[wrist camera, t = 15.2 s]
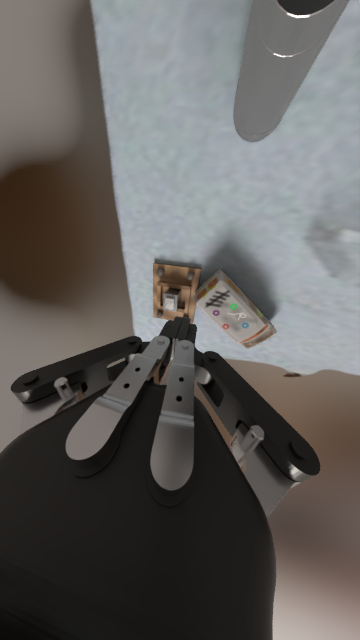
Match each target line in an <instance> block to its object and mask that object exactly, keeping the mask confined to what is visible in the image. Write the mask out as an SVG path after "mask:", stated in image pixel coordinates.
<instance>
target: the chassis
mask: <svg viewBox="0 0 360 640" xmlns="http://www.w3.org/2000/svg"><path fill="white" fill-rule="evenodd" d="M200 272H201V269H199V268H191V267H183V266H175V265H167V264H159V263H153V303H154V317H155V318H161V319H167V320H173V321H174V319H175V317H176V316H178V317H183V318H190V319H191V322H190V324H192V323H193V317H194V310H195V304H196V302H195V300H194V296H195V295H194V293H195V292H196V291H197V290H198V285H199V278H200ZM168 288H176V289H182V291H181V301H180V306H179V308H178V310H177V312H174V311H168V310H163V294H164V292H165V291H166V290H167V289H168Z"/></svg>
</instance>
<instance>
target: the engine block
mask: <svg viewBox="0 0 360 640" xmlns="http://www.w3.org/2000/svg"><path fill="white" fill-rule="evenodd" d="M181 291H182V289H176V288H168V289H167V290H166V291H165V292H164V294H163V310H168V311H174V312H177V310H178V308H179V306H180V301H181Z"/></svg>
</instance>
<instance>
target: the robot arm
mask: <svg viewBox="0 0 360 640" xmlns="http://www.w3.org/2000/svg"><path fill="white" fill-rule="evenodd" d="M348 2H349V0H253V3H252V9H251V14H250V20H249V26H248V31H247V37H246V42H245V48H244V54H243V59H242V65H241V71H240V76H239V81H238V87H237V93H236V99H235V105H234V124H235V127H236V130H237V132H238V134H239V135H240V136H241V137H242V138H243V139H244V140H246V141H250V142H255V141H259V140H261V139H263V138H265V137H266V136H268V135H269V134H270V133H271V132H272V131H273V130H274V129H275V128H276V126H277V125H278V124H279V122H280V120H281V119H282V117H283V115H284V114H285V112H286V110H287V108H288V107H289V105H290V103H291V102H292V100H293V98H294V96H295V95H296V93H297V91H298V89H299V88H300V86H301V84H302V82H303V81H304V79H305V77H306V75H307V74H308V72H309V70H310V68H311V67H312V65H313V63H314V61H315V60H316V58H317V56H318V54H319V53H320V51H321V49H322V48H323V46H324V44H325V42H326V41H327V39H328V37H329V35H330V34H331V32H332V30H333V28H334V27H335V25H336V23H337V21H338V20H339V18H340V16H341V14H342V13H343V11H344V9H345V7H346V6H347V4H348ZM190 322H191V319H190V318H183V317H178V316H176V317H175V319H174V321H172V320H169V321H168V322H166V324H165V326H164V327H163V329H162V331H161V333H160V334H159V336H156V337H154V338H153V339H152V341H150V342H142V340H141V338H139V337H137V336H131V337H127V338H124V339H122V340H119V341H116V342H113V343H110V344H107V345H105V346H102V347H99V348H96V349H93V350H90V351H87V352H85V353H82V354H79V355H76V356H74V357H70V358H67V359H65V360H62V361H59V362H56V363H53V364H50V365H48V366H45V367H42V368H39V369H36V370H33V371H31V372H28V373H26V374H24V375H22V376H21V377H19V378H18V379H17V380H16V381H15V382H14V383H13V384H12V386H11V391H12V392H13V393H14V394H15V395H16V397H17V398H18V400H19V402H20V403H21V404H22V405H23V407H22V420H21V434H20V435H19V436H18V437H17V438H16V439H14V440H13V441H12V442H11V443H10V444H9V445H8V446H7V447H6V448H5V449H4V450H3V451H2V452H1V453H0V640H272V620H273V602H274V593H275V585H276V557H275V548H274V543H273V538H272V534H271V529H270V526H269V523H268V520H267V517H268V516H269V515H270V514H271V512H272V511H273V510H274V508H275V507H276V506H277V504H278V503H279V502H280V501H281V499H282V498H283V497H284V495H285V494H286V493H287V491H288V490H289V489H291V488H292V487H294V486H296V485H298V484H300V483H302V482H304V481H305V480H307V479H309V478H311V477H313V476H315V475H317V474H318V473H319V471H320V463H319V459H318V457H317V455H316V453H315V451H314V450H313V448H312V447H311V446H310V445H309V443H307V441H306V440H305V439H304V438H303V437H302V436H301V435H300V434H298V432H297V431H296V430H295V429H294V428H292V426H291V425H289V423H287V421H285V419H284V418H283V417H282V416H281V415H280V414H279V413H277V412H276V411H275V410H274V409H273V408H272V407H271V406H270V405H269V404H268V403H267V402H266V401H265V400H264V399H263V398H262V397H261V396H260V395H259V394H258V393H257V392H256V391H255V390H254V389H253V388H252V387H251V386H250V385H249V384H248V383H247V382H246V381H245V380H244V379H243V378H242V377H241V376H240V375H239V374H238V373H237V372H236V371H235V370H234V369H233V368H232V367H231V366H230V365H229V364H228V363H227V362H226V361H225V360H224V359H223V358H222V357H221V356H220V355H219V354H218V353H216V352H213V351H207V352H205V353H202V352H200V351H198V350H197V349H196V348H195V338H196V331H197V327H196V325H195V324H190ZM124 357H125V361H123V362H120V363H119V364H116V365H114V366H112V367H109V368H107V366H108V365H109V364H111V363H112V362H115V361H117V360H120V359H122V358H124ZM170 360H173V362H172V364H171V369H170V373H169V378H168V382H167V385H160V384H161V382H162V379H163V377H164V375H165V373H166V370H167V368H168V364H169V361H170ZM194 380H195V381H197V385H198V387H199V388H200V390H201V391H202V393H203V394H204V396H205V397H206V399H207V400H208V402H209V403H210V405H211V406H212V408H213V409H214V411H215V412H216V414H217V415H218V416H219V418H220V420H221V421H222V423H223V424H224V426H225V427H226V429H227V430H228V432H229V433H230V435H231V436H232V438H231V449H232V452H233V453H234V456H235V458H236V459H235V458H234V456H233V454H232V453H231V451H230V449H229V448H228V446H227V444H226V442H225V441H224V439H223V437H222V435H221V434H220V432H219V430H218V429H217V427H216V425H215V423H214V422H213V420H212V418H211V416H210V415H209V413H208V411H207V410H206V408H205V407H204V405H203V404H202V403H201V402H200V401H199V400H198V399H197V398H196V397H195V396H194Z"/></svg>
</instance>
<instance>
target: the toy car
mask: <svg viewBox="0 0 360 640" xmlns="http://www.w3.org/2000/svg"><path fill="white" fill-rule="evenodd" d="M219 270H220V271H219ZM219 270H217V271H216V272H215V273H214V274H213V275H212V276H211V277H210V278H209V279H208V280H207V281H206V282H205V283H204V284H203V285H202V286H201V287H200V288H199V289H198V290H197V291H196V292H195V293H194V295H195V296H194V300H195V302H196V303H197V305H198V306H199V307H200V308H201V309H202V310H203V311H204V312H205V313H206V314H207V315H208V316H209V317H210V318H211V319H212V320H213V321H214V322H215V323H216V324H217V325H218V326H219V327H220V328H221V329H222V330H223V331H224V332H225V333H226V334H227V335H228V336H229V337H231V338H232V339H233V340H234V341H235V342H236V343H240V344H241V345H242V346H243V347H244V348H246V349H249V348H251V347H253V346H256V345H258V344H260V343H262V342H263V341H265V340H267V339H269V338H270V337H272V336H274V335H275V334H276V332H277V331H276V329H275V328H274V326H273V325H272V323H271V322H270V321H269V320H268V319H267V318H266V317H265V316H264V315H263V314H262V313H261V312H260V311H259V310H258V308H257V307H256V306H255V305H254V304H253V303H252V302H251V301H250V300H249V298H248V297H247V296H246V295H245V294H244V293H243V292H242V291H241V290H240V289H239V287H237V286H236V284H235V283H234V282H233V281H232V280H231V279H230V278H229V277H228V276H227V275H226V274H225V273H224V272H222V271H221V269H219ZM218 271H219V272H218Z"/></svg>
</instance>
